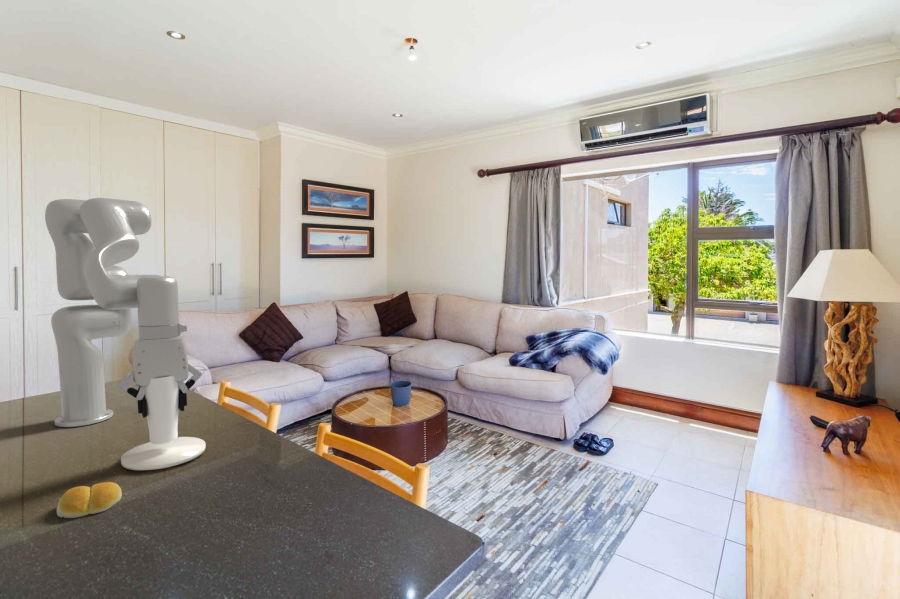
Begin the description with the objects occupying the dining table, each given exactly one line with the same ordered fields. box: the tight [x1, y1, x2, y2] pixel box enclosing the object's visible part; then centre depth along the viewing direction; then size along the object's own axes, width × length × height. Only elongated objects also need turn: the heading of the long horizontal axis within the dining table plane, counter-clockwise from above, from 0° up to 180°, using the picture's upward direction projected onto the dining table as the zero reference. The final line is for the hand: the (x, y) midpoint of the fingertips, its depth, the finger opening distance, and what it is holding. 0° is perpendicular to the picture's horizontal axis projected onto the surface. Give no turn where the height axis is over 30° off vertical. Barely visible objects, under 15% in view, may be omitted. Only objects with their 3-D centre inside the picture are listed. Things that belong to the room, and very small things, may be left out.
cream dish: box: [120, 436, 207, 471], centre depth 102 cm, size 16×16×2 cm
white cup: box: [144, 376, 180, 444], centre depth 101 cm, size 7×7×15 cm
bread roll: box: [56, 481, 123, 519], centre depth 81 cm, size 8×9×4 cm
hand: (163, 412), depth 101 cm, fingers closed on white cup, 6 cm apart
